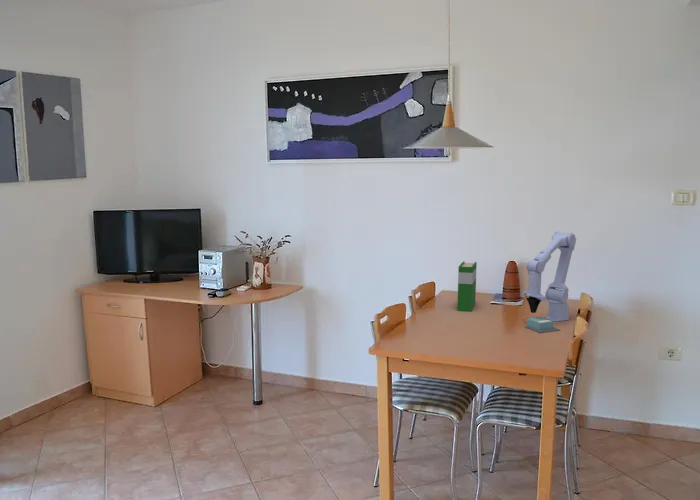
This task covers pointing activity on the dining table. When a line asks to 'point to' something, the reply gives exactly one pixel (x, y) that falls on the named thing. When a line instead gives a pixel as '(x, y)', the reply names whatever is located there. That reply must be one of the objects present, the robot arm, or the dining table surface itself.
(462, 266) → the hardback book
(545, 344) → the dining table surface
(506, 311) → the dining table surface
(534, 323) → the slab
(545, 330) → the mat
